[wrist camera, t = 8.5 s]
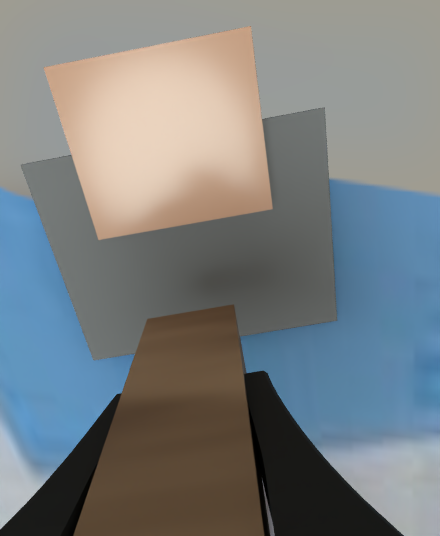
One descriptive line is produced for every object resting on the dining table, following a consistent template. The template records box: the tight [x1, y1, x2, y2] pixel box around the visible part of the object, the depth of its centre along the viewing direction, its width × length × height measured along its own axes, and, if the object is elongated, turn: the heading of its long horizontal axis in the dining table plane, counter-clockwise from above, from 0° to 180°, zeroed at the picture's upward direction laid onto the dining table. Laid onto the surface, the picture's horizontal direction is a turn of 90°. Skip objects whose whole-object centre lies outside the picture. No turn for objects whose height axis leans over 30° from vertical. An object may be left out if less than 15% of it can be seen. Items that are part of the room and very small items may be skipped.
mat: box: [21, 108, 337, 360], centre depth 18 cm, size 11×14×1 cm
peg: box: [73, 304, 270, 536], centre depth 9 cm, size 3×3×9 cm
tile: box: [44, 26, 273, 240], centre depth 15 cm, size 2×8×7 cm
